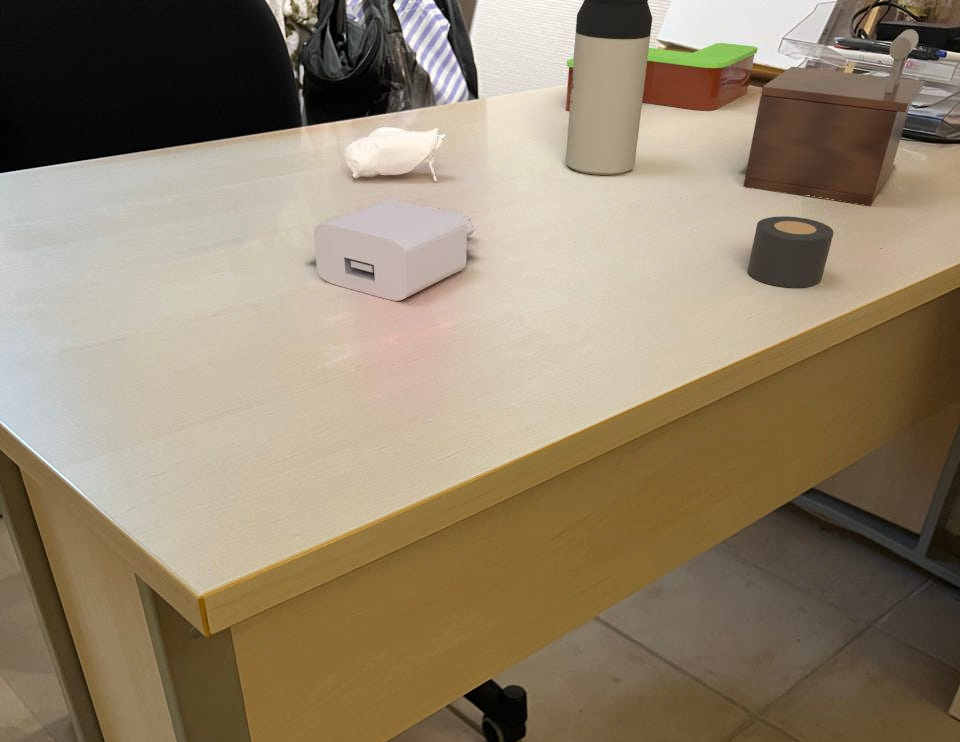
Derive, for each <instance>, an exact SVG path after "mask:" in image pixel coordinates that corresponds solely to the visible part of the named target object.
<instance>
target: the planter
mask: <svg viewBox="0 0 960 742" xmlns="http://www.w3.org/2000/svg"><path fill="white" fill-rule="evenodd" d="M757 53H758V47H757V46H753V45H752V46H751V45H743V44H734V43H726V42H717V43H714V44H711V45H708V46H706V47H704V48H701V49H699V50H696V51H694V52H689V51H688V52H687V51H678V50H670V49H662V48H655V47H649V51H648V59H647V67H646V75H645V83H644V92H643V100H642V104H644V103H645V104H650V105H658V106H665V107H673V108H677V109H678V108H679V109H687V110H692V111H707V112H708V111H715V110H718V109H721V108H722V107H724V106H726V105H727V104H730V103H732V102H734V101H735V100H737V99H738V98H740V97H742V96H745V95H746V94H748V91H749V86H750V81H751V75H752V71H753V65H754V60H755V59H754V58H755V54H757ZM573 60H574V57H573V58H570V59H567V60H566V67H568V72H567V73H568V74H567V87H566V99H565V100H566V101H565V111H567V112H569V111H570V98H571V85H572V72H573Z"/></svg>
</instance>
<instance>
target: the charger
mask: <svg viewBox="0 0 960 742" xmlns="http://www.w3.org/2000/svg"><path fill="white" fill-rule="evenodd" d="M471 221H472V217H471V216H469V215H467V216H464V215H463V214H462V213H460V212H457V211H453V210H450V209H449V210H448V209H443V208H439V207H436V208H433V207H427V206H423V205H419V204H414V203H410V202H406V201H401V200H397V199H392V198H391V199H390V198H387V199H383V200H380V201H378V202H375V203H372V204H370V205H368V206H364V207H362V208H359V209H357V210H354V211H352V212H349V213H346V214H344V215H341V216H338V217H336V218H333V219H331V220H328V221H326V222H323V223H320V224H318V225H316V226H314V229H313V239H314V240H313V241H314V252H315V264H316V271H317V274H318V275H319V277H320V278H321V279H323V280H324V281H325V282H327V283H329V284H332V285H335V286H339V287H343V288H346V289H348V290H349V289H350V290H352V291H357V292H359V293H364V294H367V295H370V296H374V297H378V298H382V299H385V300H389V301H396V302H397V301H402V300H404V299H407V298H409V297H410V296H412V295H413V296H414V295H415V294H417V293H419V292H421V291H422V290H424V289H426V288H428V287H430V286H432V285H434V284H436V283H438V282H441V281H443V280H444V279H446V278H448V277H450V276H453V275H454V274H456V273H458V272H460V271H462V270H464V269H465V268H466V267H467V245H468V244H467V243H468V241H467V238H468V237H469V236H471V235H472V234H473V233H474V232H475V231H476V228H475V226H474V224H473V223H472V222H471Z"/></svg>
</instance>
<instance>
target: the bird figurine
mask: <svg viewBox="0 0 960 742" xmlns="http://www.w3.org/2000/svg"><path fill="white" fill-rule="evenodd" d="M438 133H439V128H438V127H434V128H433V129H431V130H425V131H419V130H418V131H415V130H406V129H402V128H400V127H392V126H382V127H379V128H376V129H374V130H373V131H371V132H370V134H369V135H368V136H362V137H361V138H359V139H356V140H355V141H353V142H351V143H350V144H349V145H347V146H346V147H345V150H344V154H343V158H344V161H345V164H346V168H347V169H348V171H349V172H350V173H352V177H353V179H355V180H357V179H358V178H360V177H368V178H373V177H377V176H379V175H381V176H400V175H403V174H409V173H410V172H412V171H413V170H417V169H420V168H422V167H424V166H425V165H427V166H428V171H429V174H430V175H431V176H432V179H433V181H434V182H437V181H438V180H437V177H436V175H435V170H436V169H435V164H434V162H435V158H434V156H435V155H436V153H437V152H438V151H439V149H440V147H441V146H442V144H443V143H444V141H445V138H446V130H445V131H444V133H443V134H438Z"/></svg>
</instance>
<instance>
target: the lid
mask: <svg viewBox="0 0 960 742" xmlns="http://www.w3.org/2000/svg"><path fill="white" fill-rule="evenodd" d="M918 43H919V34H918V32H917V31H916V30H914V29H906V30H904V31H903V32H901V33H900V34H899V35H898V36H897V37H896V38H895V39H894V40H893V41H892V42H891V44H890V46H889V55H890V57H891V58H892V65H891V67H890V72H889V75H888V76H883V75H881V76H880V75H872V74H871V75H870V74H863V73H853V72H844V71H835V70H825V69H817V68H807V67H801V66H800V67H799V66H790V67H789V68H787V69H786V70H785V71H783V72H781V73H780V74H778V75H777V76H776V77H774V78H773V79H772V80H770V81H769V82H767V83H766V84H764V85H763V86H762V88H761V92H760V96H761V95H765V96H774V97H782V98H790V99H799V100H807V101H815V102H823V103H832V104H840V105H848V106H857V107H865V108H873V109H881V110H890V111H898V112H906V111H907V109H908V108H909V109H910V107H911V106H912V104H913V103H914V101H915V100H916V98H917V97H918V96H919V95H920V93H921V92H922V90H923V89H924V85H925V80H918V79H909V78H902V77H903V73H904V69H905V65H906V63H907V62H906V61H907V58H908V55H909V54H911V52H912V51H913V50H914V49H915V48H916V46H917V45H918Z"/></svg>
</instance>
